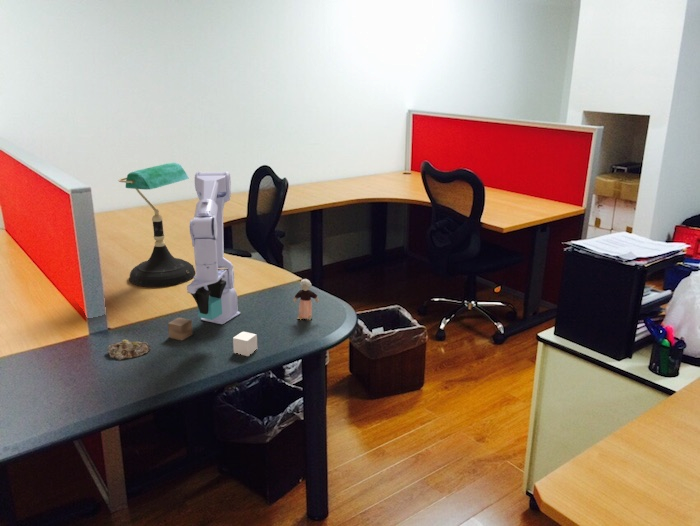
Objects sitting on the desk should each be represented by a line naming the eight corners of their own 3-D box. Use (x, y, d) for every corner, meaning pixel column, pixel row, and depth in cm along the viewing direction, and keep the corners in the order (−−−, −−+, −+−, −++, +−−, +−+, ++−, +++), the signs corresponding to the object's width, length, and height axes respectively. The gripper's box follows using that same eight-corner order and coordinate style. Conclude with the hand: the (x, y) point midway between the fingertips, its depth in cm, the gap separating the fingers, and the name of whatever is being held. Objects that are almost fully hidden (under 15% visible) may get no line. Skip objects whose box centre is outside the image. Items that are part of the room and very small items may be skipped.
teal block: (208, 311, 162) (207, 296, 160) (222, 313, 160) (221, 298, 158) (198, 317, 158) (197, 301, 156) (212, 319, 156) (210, 304, 155)
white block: (243, 346, 160) (242, 331, 158) (257, 349, 158) (256, 334, 157) (233, 353, 156) (232, 337, 155) (248, 356, 154) (247, 341, 153)
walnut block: (180, 331, 169) (178, 317, 167) (192, 334, 167) (191, 320, 165) (169, 337, 165) (167, 323, 163) (181, 340, 163) (180, 325, 162)
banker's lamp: (168, 292, 198) (156, 174, 186) (112, 284, 205) (97, 170, 193) (210, 268, 222) (202, 162, 210) (158, 262, 229) (148, 159, 217)
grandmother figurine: (294, 321, 175) (293, 281, 171) (293, 316, 179) (292, 277, 175) (319, 320, 176) (319, 280, 172) (318, 315, 180) (317, 276, 176)
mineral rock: (103, 354, 150) (109, 334, 157) (105, 367, 153) (111, 346, 159) (147, 353, 152) (151, 332, 159) (149, 365, 154) (153, 345, 161)
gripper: (210, 252, 162) (214, 298, 166) (175, 267, 149) (180, 317, 154) (232, 255, 159) (235, 302, 163) (198, 271, 147) (202, 321, 151)
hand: (209, 309), depth 158 cm, fingers closed on teal block, 4 cm apart
